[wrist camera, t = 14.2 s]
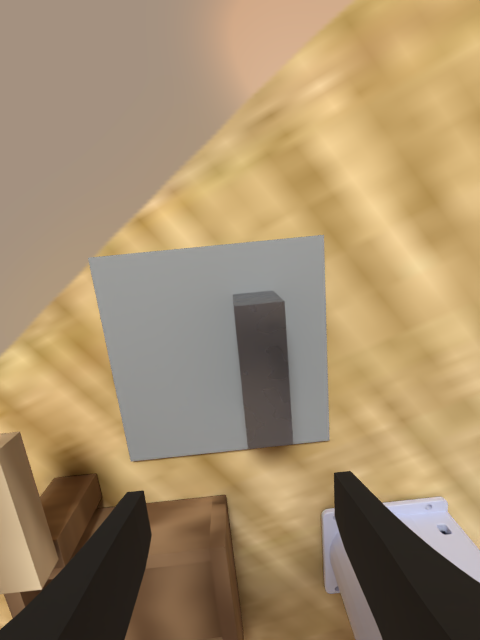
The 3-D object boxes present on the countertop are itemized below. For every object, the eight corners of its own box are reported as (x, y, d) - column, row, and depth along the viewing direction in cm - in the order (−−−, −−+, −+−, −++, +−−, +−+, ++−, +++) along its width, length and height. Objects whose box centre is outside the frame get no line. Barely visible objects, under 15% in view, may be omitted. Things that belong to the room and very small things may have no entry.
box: (221, 460, 21) (218, 521, 17) (243, 631, 25) (246, 721, 21) (26, 480, 21) (-34, 549, 16) (78, 650, 25) (43, 745, 20)
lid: (318, 235, 19) (350, 231, 14) (324, 432, 22) (352, 483, 17) (95, 257, 19) (48, 260, 14) (135, 452, 22) (108, 510, 17)
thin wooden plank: (19, 431, 15) (-4, 452, 13) (58, 559, 16) (41, 589, 15) (-42, 438, 15) (-73, 459, 13) (3, 565, 16) (-18, 596, 15)
